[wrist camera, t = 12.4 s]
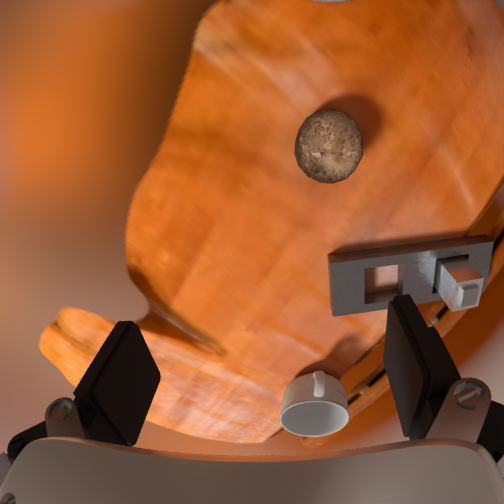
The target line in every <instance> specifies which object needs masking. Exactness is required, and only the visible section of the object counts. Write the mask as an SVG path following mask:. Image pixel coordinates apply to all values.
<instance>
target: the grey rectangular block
mask: <svg viewBox="0 0 504 504" xmlns="http://www.w3.org/2000/svg"><path fill="white" fill-rule="evenodd" d="M483 280H484V277H483V276H482V275H481V274H480V273H479V272H478V271H477V270H476V269H475V268H474V266H473V265H472V264H471V263H470V262H469V261H468V260H467V259H466V258H465V257H464V256H463V255H458V256H451V257H445V258H438V259H436V265H435V275H434V283H433V285H434V287H435V288H436V289H437V291H438V292H439V294H440V295H441V297H442V298H443V300H444V301H445V303H446V304H447V306H448V307H449V309H450V310H451V312H453V311H458V310H463V309H467V308H472V307H476V306H478V304H479V299H480V295H481V290H482V285H483Z"/></svg>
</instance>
